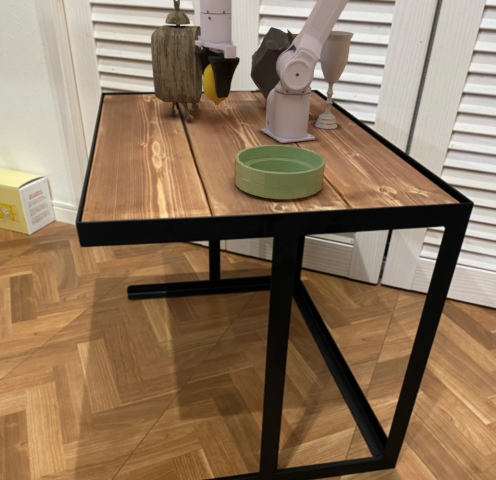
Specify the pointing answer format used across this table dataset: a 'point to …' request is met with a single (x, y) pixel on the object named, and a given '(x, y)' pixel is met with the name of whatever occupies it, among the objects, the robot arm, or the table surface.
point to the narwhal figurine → (270, 60)
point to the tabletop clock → (177, 62)
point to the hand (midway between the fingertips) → (216, 93)
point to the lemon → (210, 86)
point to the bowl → (279, 171)
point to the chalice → (333, 70)
